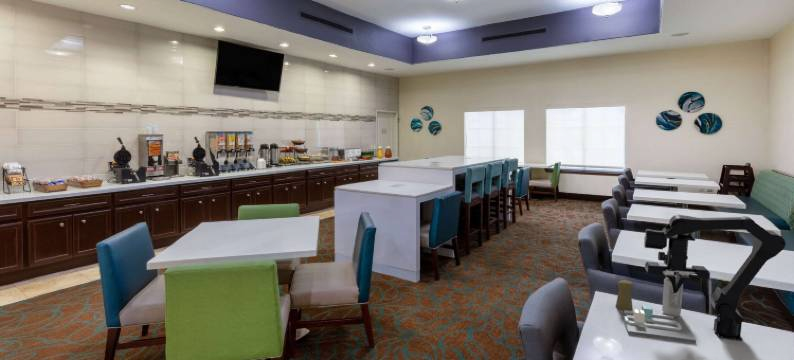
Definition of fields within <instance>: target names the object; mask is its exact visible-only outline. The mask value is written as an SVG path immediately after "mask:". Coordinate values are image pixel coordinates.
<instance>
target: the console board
mask: <svg viewBox="0 0 794 360" xmlns="http://www.w3.org/2000/svg"><path fill="white" fill-rule="evenodd" d="M641 310H643V311H644V313H645V321H644V323H638V322H634V320H633V316H634V310H631V311H627V310H625V311H623V310H620V311H621V313H620V315H621V318H622V321H623V324H624V326H625V328H626V331H627V334H628V335H631V336H638V337H645V338H653V339H661V340H669V341H674V342H675V341H676V342H681V343H689V344H690V343H691V344H697V339H696V337H694V335H693V333H692V331H691V330H690V328H689V327H688V326H687V324H686V323H685V320H684V319H683V318H679V317H673V316H669V315H665V314H659V313H653V310H654V309H653V307H652V306H651V305H644V304H641Z"/></svg>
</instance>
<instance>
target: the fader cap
mask: <svg viewBox="0 0 794 360" xmlns="http://www.w3.org/2000/svg"><path fill="white" fill-rule="evenodd" d="M633 311H634V316H633V320H634V322H638V323H644V321H645V313H644V311H643V310H642V309H640V308H639V309H637V308H633Z"/></svg>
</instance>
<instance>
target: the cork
mask: <svg viewBox="0 0 794 360" xmlns="http://www.w3.org/2000/svg"><path fill="white" fill-rule="evenodd" d="M617 287H618V289H619V290H618V294H617V296H616V298H617V299H616V303H615V307H617V308H616V309H618V310H620V311H623V312H625V310H627V311H634V307H633V297H632V290H633V289H634V288H633V287H634V285H633V282H631V281H629V280H624V279H623V280H621V279H620V280H619V281H618V282H617Z"/></svg>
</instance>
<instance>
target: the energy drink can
mask: <svg viewBox="0 0 794 360" xmlns="http://www.w3.org/2000/svg"><path fill="white" fill-rule="evenodd" d="M674 275H675V277H676V274H674ZM683 290H684V283H683V284H682V286H681V287H680V288H679V290H678V291H677V293H673V291H672V287H671V284H670V281H669V279H668V277H666V276H665V278H664V279H663V292H662V293H663V295H662V305H661V306H662V307H661V310H662V313H663V315H669V316H673V317H674V318H679V316H680V315H681V314H682V305H683V304H682V303H683Z"/></svg>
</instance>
